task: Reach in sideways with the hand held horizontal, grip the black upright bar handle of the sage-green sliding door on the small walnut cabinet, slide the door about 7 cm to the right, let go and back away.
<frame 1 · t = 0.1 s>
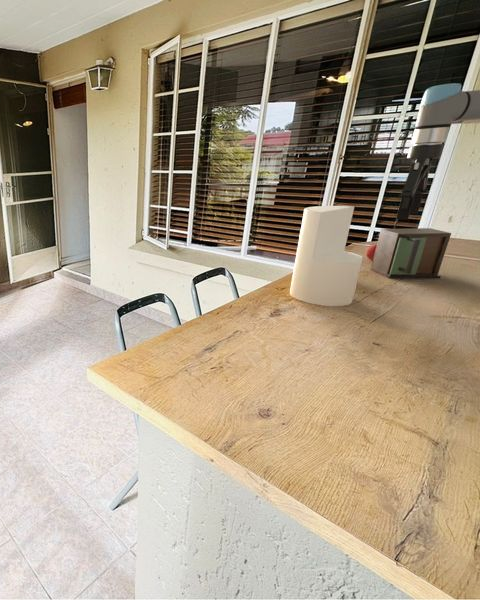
hand: (407, 216, 112), 24 cm above the counter, tool pointing down, fingers open, 13 cm apart
white tall notched piece: (319, 296, 115), on the counter
door: (412, 257, 122), point 8 cm above the counter, slide at 0.0 cm
onion: (372, 261, 148), on the counter
cabinet: (402, 273, 132), on the counter
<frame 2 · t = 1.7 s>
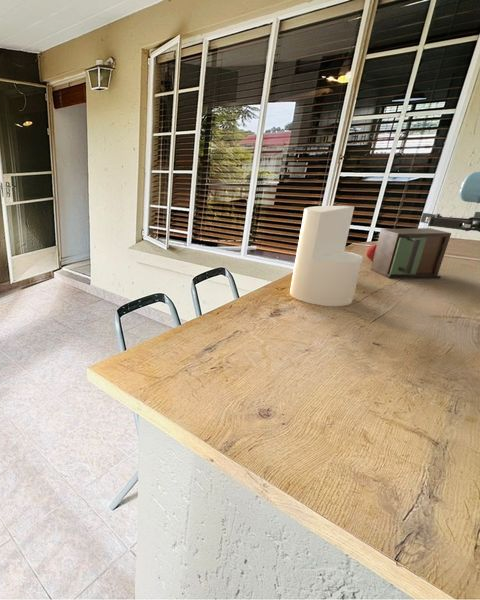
hand: (448, 216, 106), 24 cm above the counter, tool horizontal, fingers open, 13 cm apart
nothing on the counter moved.
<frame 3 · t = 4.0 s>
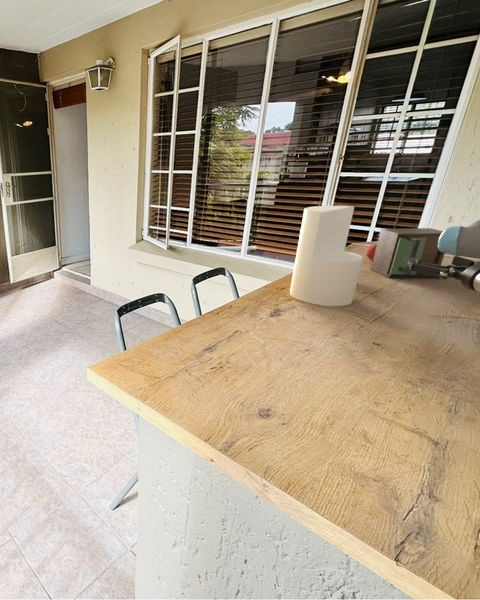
hand: (429, 260, 113), 10 cm above the counter, tool horizontal, fingers open, 13 cm apart
nothing on the counter moved.
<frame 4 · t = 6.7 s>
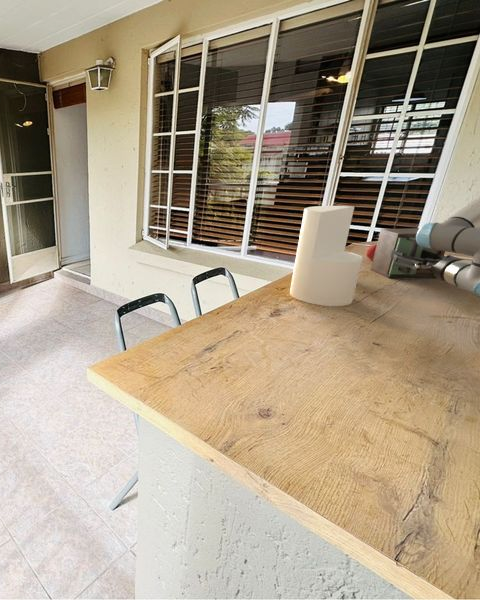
hand: (407, 253, 124), 9 cm above the counter, tool horizontal, fingers open, 8 cm apart
door: (411, 257, 122), point 8 cm above the counter, slide at -0.2 cm, touching gripper
everything else where it was.
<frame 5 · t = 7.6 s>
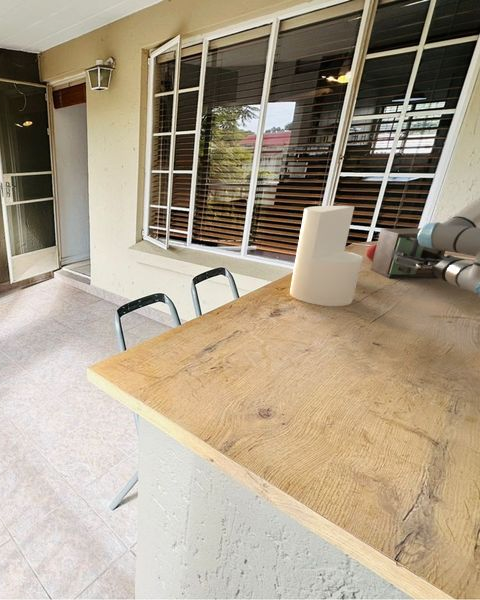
hand: (407, 253, 124), 9 cm above the counter, tool horizontal, fingers closed on door, 8 cm apart
door: (412, 257, 122), point 8 cm above the counter, slide at -0.1 cm, touching gripper
everything else where it was.
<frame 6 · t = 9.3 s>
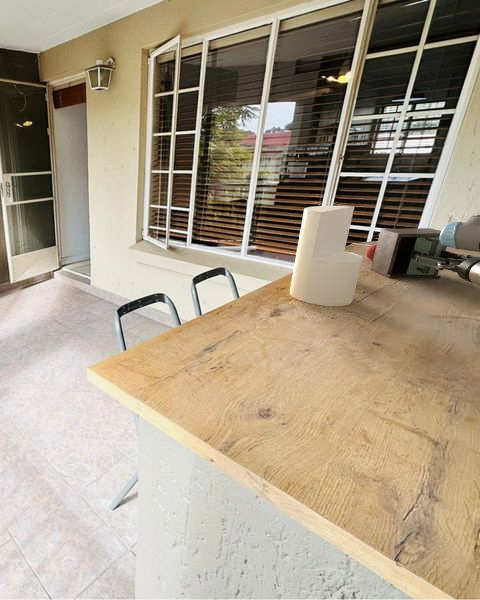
hand: (425, 253, 123), 9 cm above the counter, tool horizontal, fingers closed on door, 8 cm apart
door: (430, 257, 121), point 8 cm above the counter, slide at 5.5 cm, touching gripper
everything else where it was.
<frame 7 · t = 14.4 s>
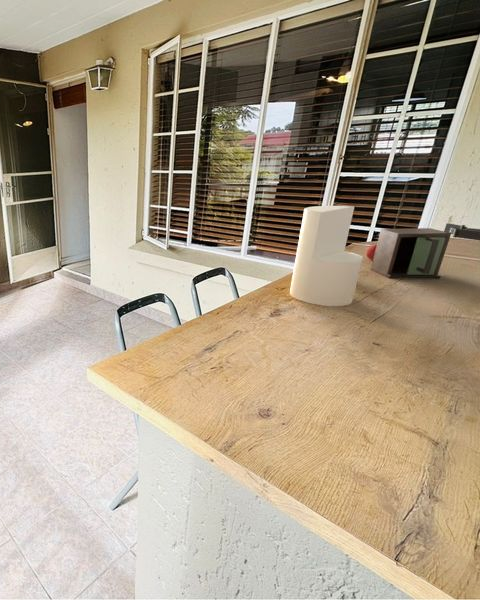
hand: (472, 227, 106), 21 cm above the counter, tool horizontal, fingers open, 13 cm apart
door: (430, 257, 121), point 8 cm above the counter, slide at 5.6 cm
everything else where it was.
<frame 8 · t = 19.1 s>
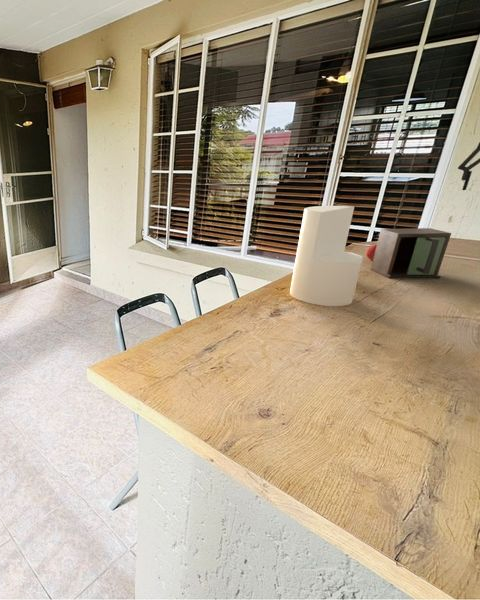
nothing on the counter moved.
at the end: door slide at 5.6 cm; the gripper is holding nothing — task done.
